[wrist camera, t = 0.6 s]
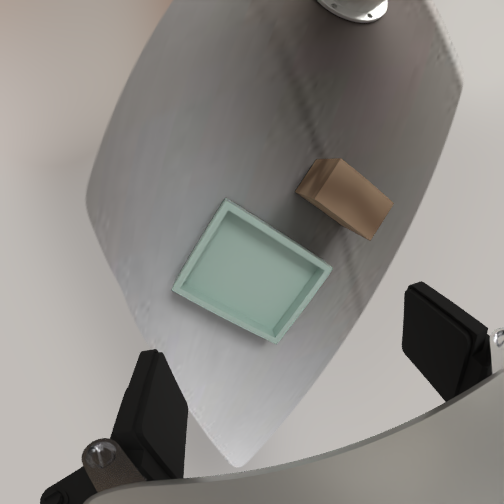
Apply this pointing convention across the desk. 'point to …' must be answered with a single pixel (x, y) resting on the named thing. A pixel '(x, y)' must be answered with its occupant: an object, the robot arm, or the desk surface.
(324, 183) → the walnut block
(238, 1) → the desk surface
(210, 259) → the tray
